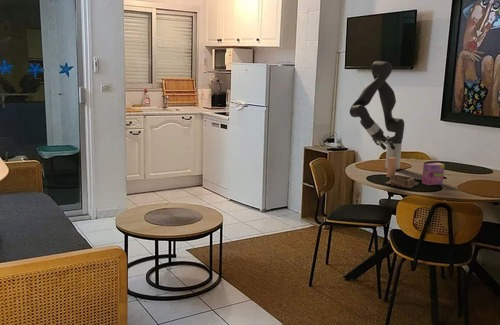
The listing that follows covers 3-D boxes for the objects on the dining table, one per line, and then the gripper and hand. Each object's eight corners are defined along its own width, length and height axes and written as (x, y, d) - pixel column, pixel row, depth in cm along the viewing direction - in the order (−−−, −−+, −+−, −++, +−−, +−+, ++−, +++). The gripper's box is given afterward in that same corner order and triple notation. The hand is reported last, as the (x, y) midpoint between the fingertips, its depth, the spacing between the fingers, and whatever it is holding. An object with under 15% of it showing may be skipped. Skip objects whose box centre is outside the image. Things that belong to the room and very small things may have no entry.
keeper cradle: (394, 179, 297) (394, 173, 296) (419, 183, 288) (419, 177, 287) (384, 183, 286) (385, 177, 286) (410, 188, 277) (410, 182, 277)
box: (427, 185, 285) (429, 165, 283) (421, 182, 291) (423, 163, 288) (443, 184, 288) (445, 164, 286) (436, 182, 293) (438, 162, 291)
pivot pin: (388, 175, 307) (389, 156, 305) (396, 177, 304) (397, 157, 302) (385, 177, 303) (386, 157, 301) (392, 178, 300) (394, 159, 298)
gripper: (385, 125, 295) (400, 144, 299) (370, 126, 308) (386, 144, 313) (377, 134, 293) (393, 153, 298) (363, 135, 306) (379, 153, 311)
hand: (389, 149), depth 305 cm, fingers open, 8 cm apart
